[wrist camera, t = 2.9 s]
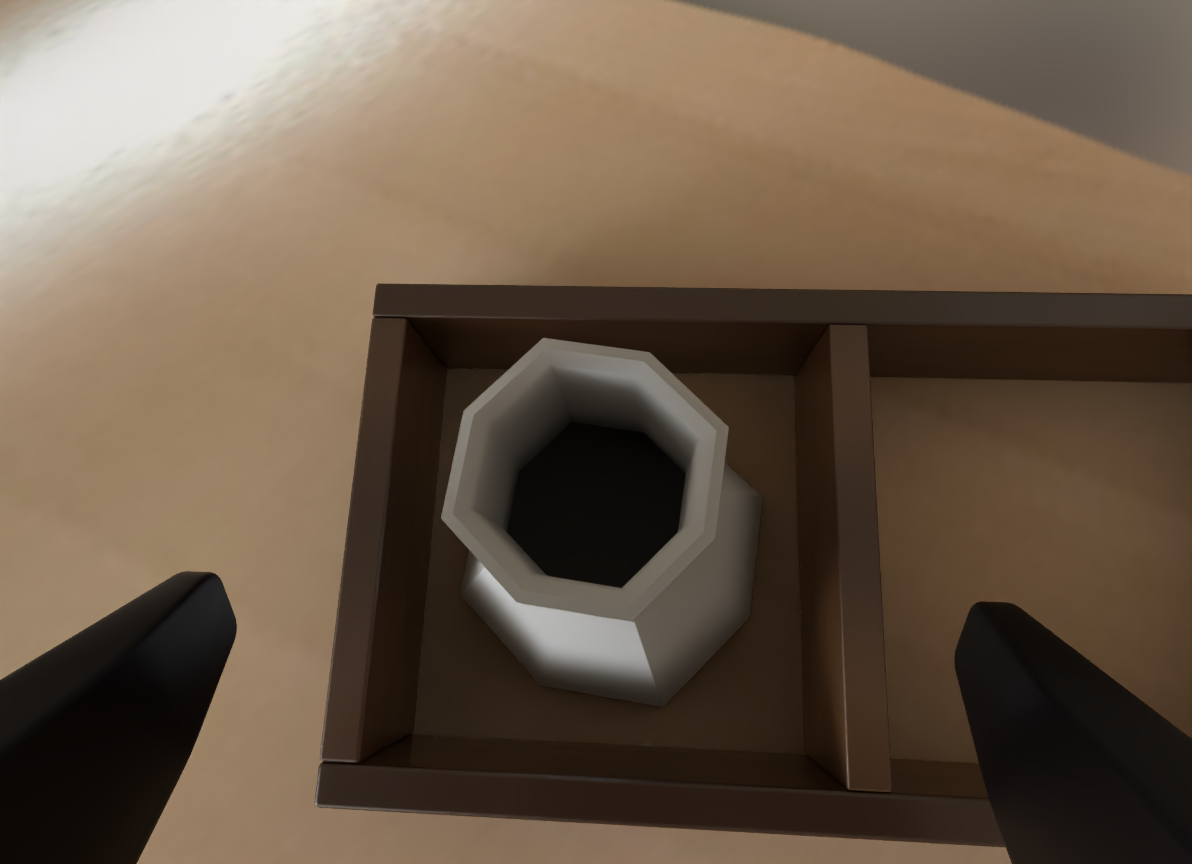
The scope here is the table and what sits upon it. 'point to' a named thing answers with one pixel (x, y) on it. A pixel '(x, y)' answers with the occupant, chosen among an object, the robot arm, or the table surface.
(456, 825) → the table surface
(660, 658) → the flask
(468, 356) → the walnut divided tray
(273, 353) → the table surface
